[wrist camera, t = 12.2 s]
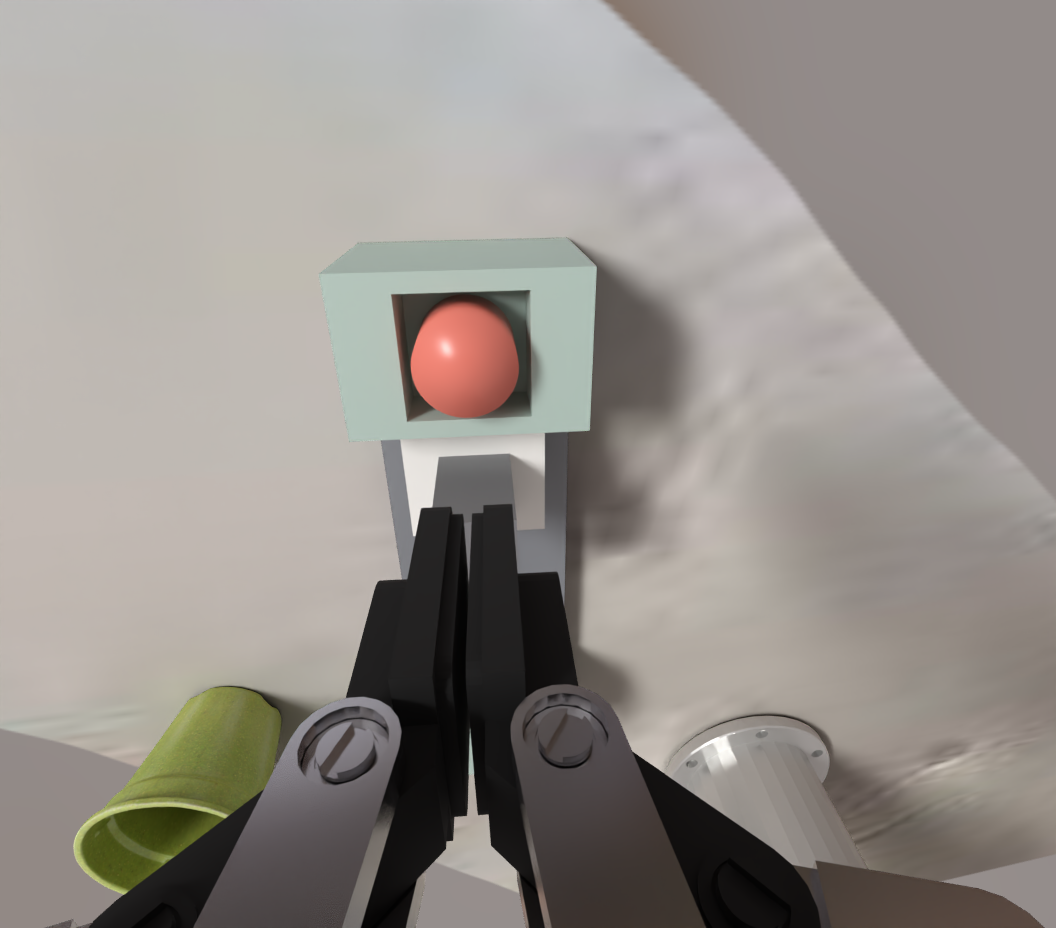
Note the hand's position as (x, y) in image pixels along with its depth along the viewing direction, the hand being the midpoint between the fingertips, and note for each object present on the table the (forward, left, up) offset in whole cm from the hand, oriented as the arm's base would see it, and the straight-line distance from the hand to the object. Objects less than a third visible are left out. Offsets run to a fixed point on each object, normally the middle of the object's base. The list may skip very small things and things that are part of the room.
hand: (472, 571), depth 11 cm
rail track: (-10, 0, -18) cm, 21 cm away
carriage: (-6, 0, -15) cm, 16 cm away
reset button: (+1, 0, -13) cm, 13 cm away
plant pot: (-25, +17, -18) cm, 36 cm away
